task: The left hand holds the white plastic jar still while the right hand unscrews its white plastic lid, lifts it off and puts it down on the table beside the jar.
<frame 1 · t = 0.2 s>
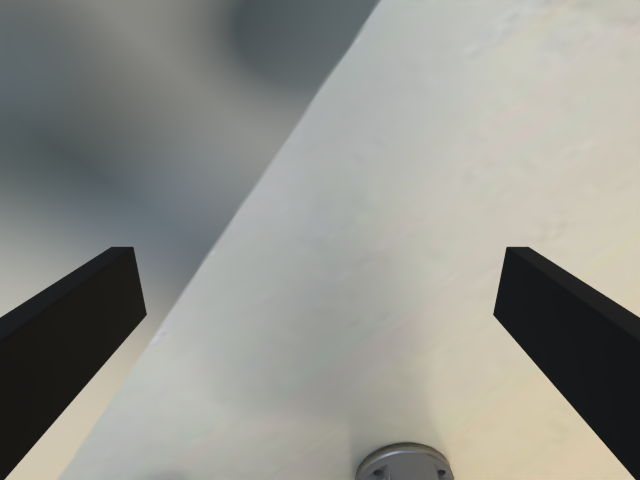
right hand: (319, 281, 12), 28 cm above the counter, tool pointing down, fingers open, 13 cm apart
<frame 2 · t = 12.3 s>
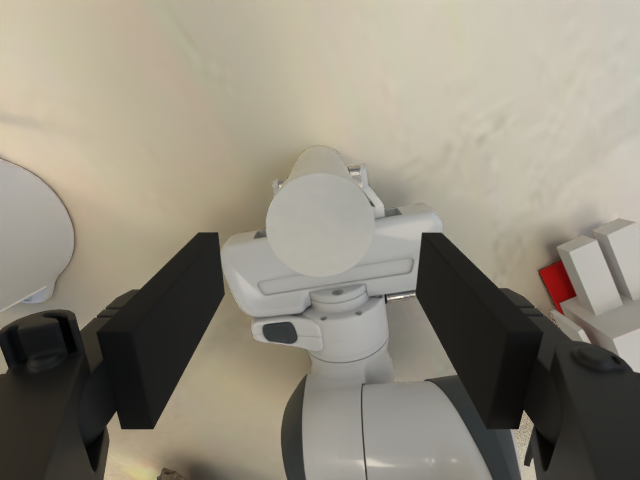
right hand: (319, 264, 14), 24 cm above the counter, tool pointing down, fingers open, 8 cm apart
left hand: (317, 172, 30), fingers closed on jar, 5 cm apart
lid: (320, 226, 19), point 19 cm above the counter, screwed on, not yet turned
jar: (320, 171, 36), on the counter, touching left hand
toy: (598, 325, 43), on the counter
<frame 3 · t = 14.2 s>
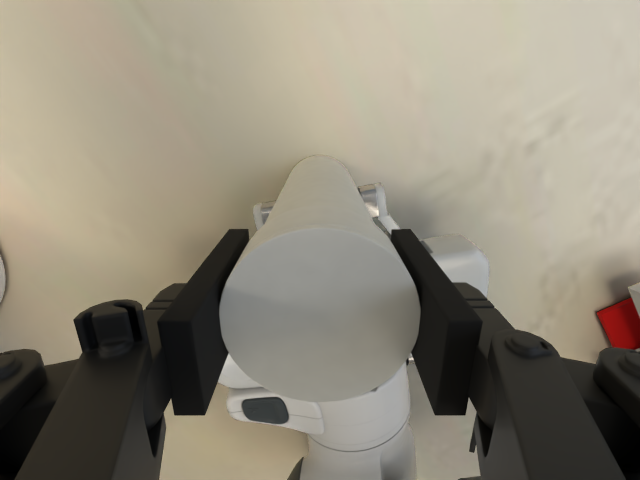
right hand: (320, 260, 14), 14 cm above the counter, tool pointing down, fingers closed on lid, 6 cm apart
lid: (319, 317, 10), point 19 cm above the counter, screwed on, not yet turned, touching right hand
jar: (319, 188, 28), on the counter, touching left hand
when the right hand's fingers open (15 cm above the counter, at t = 15.7 s): lid stays where it is, point 19 cm above the counter.
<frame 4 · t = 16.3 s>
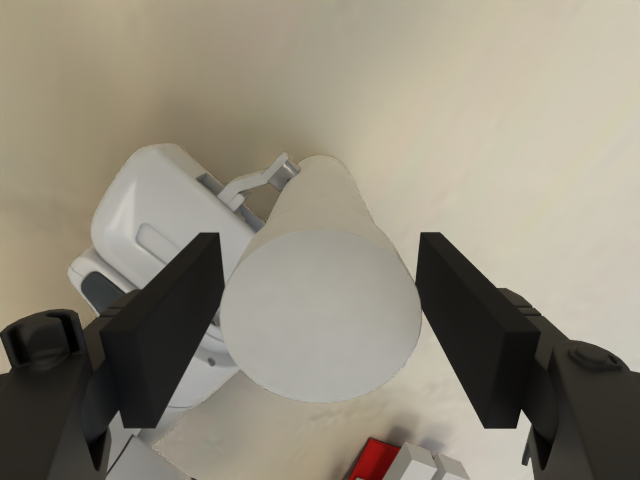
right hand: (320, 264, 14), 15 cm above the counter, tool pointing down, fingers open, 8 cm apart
lid: (320, 318, 10), point 19 cm above the counter, turned 106° so far, risen 0.3 cm, still on its thread
jar: (320, 188, 28), on the counter, touching left hand
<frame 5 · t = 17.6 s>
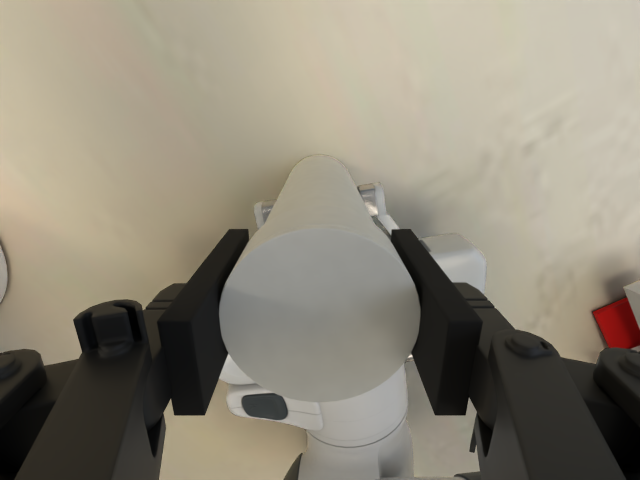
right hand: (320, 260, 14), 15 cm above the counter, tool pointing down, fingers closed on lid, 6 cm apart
lid: (319, 317, 10), point 19 cm above the counter, turned 106° so far, risen 0.3 cm, still on its thread, touching right hand
jar: (319, 188, 28), on the counter, touching left hand
when the right hand's fingers open (0 cm above the counter, at t = 24.2 s): lid drops 2 cm, point 2 cm above the counter.
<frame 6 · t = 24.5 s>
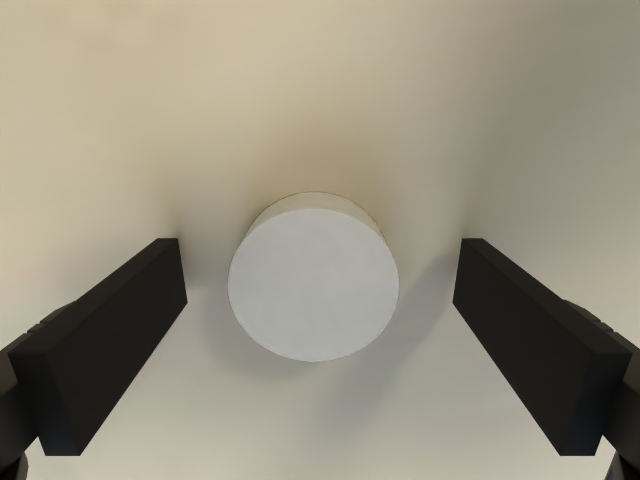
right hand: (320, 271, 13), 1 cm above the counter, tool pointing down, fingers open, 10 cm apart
lid: (313, 286, 12), point 2 cm above the counter, off its thread
when the left hand's fingers open (6 cm above the counter, at t = 25.4 s): jar stays where it is, on the counter.
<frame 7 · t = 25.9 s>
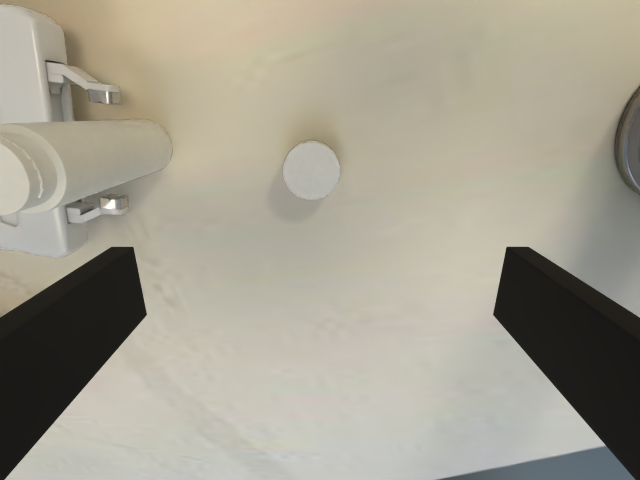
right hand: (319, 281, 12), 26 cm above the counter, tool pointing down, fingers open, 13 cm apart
left hand: (121, 153, 30), fingers open, 8 cm apart
lid: (311, 171, 35), point 2 cm above the counter, off its thread
jar: (146, 146, 36), on the counter
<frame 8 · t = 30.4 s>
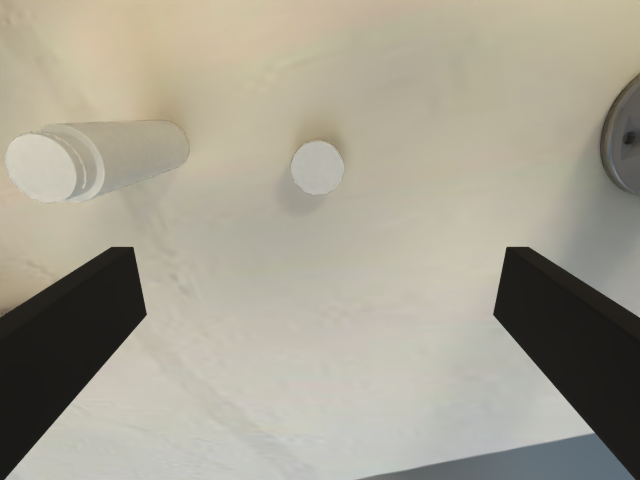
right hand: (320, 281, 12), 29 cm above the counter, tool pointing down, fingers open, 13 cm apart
lid: (317, 168, 38), point 2 cm above the counter, off its thread
jar: (165, 144, 39), on the counter
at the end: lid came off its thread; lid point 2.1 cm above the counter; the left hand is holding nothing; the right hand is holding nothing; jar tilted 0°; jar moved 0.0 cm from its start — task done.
